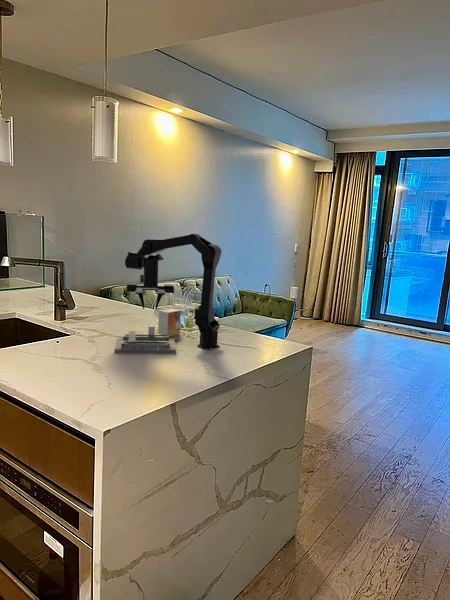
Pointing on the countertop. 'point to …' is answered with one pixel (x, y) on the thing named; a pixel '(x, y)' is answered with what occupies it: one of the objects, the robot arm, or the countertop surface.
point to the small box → (169, 322)
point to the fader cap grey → (151, 330)
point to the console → (146, 344)
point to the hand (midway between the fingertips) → (149, 309)
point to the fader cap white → (132, 336)
